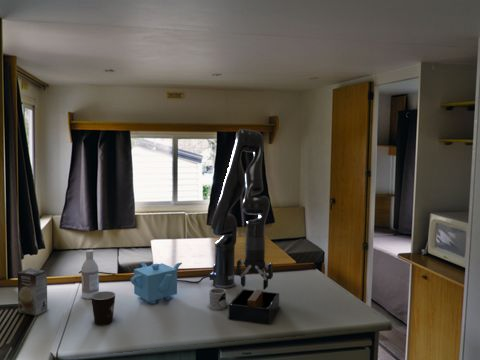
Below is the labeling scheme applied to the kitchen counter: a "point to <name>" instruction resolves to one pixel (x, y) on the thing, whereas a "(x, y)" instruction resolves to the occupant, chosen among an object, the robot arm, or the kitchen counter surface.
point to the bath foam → (89, 276)
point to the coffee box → (32, 291)
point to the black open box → (253, 314)
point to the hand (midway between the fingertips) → (254, 287)
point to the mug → (217, 298)
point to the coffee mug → (103, 307)
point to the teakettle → (155, 281)
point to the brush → (256, 299)
